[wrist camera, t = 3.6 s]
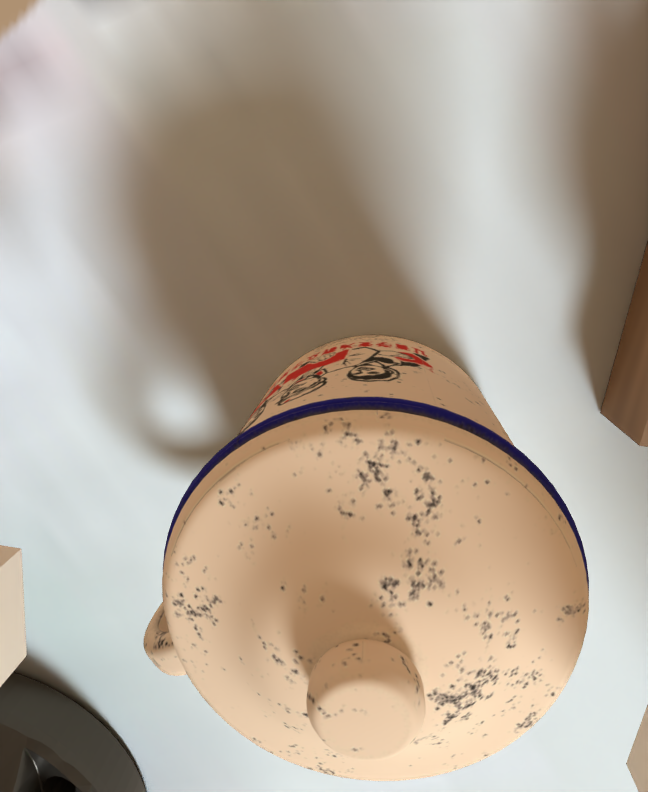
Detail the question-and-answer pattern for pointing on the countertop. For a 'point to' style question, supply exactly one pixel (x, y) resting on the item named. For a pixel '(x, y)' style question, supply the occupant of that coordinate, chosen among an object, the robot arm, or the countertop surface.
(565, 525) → the teacup with lid
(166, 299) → the countertop surface
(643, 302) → the walnut cup stand
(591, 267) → the countertop surface
